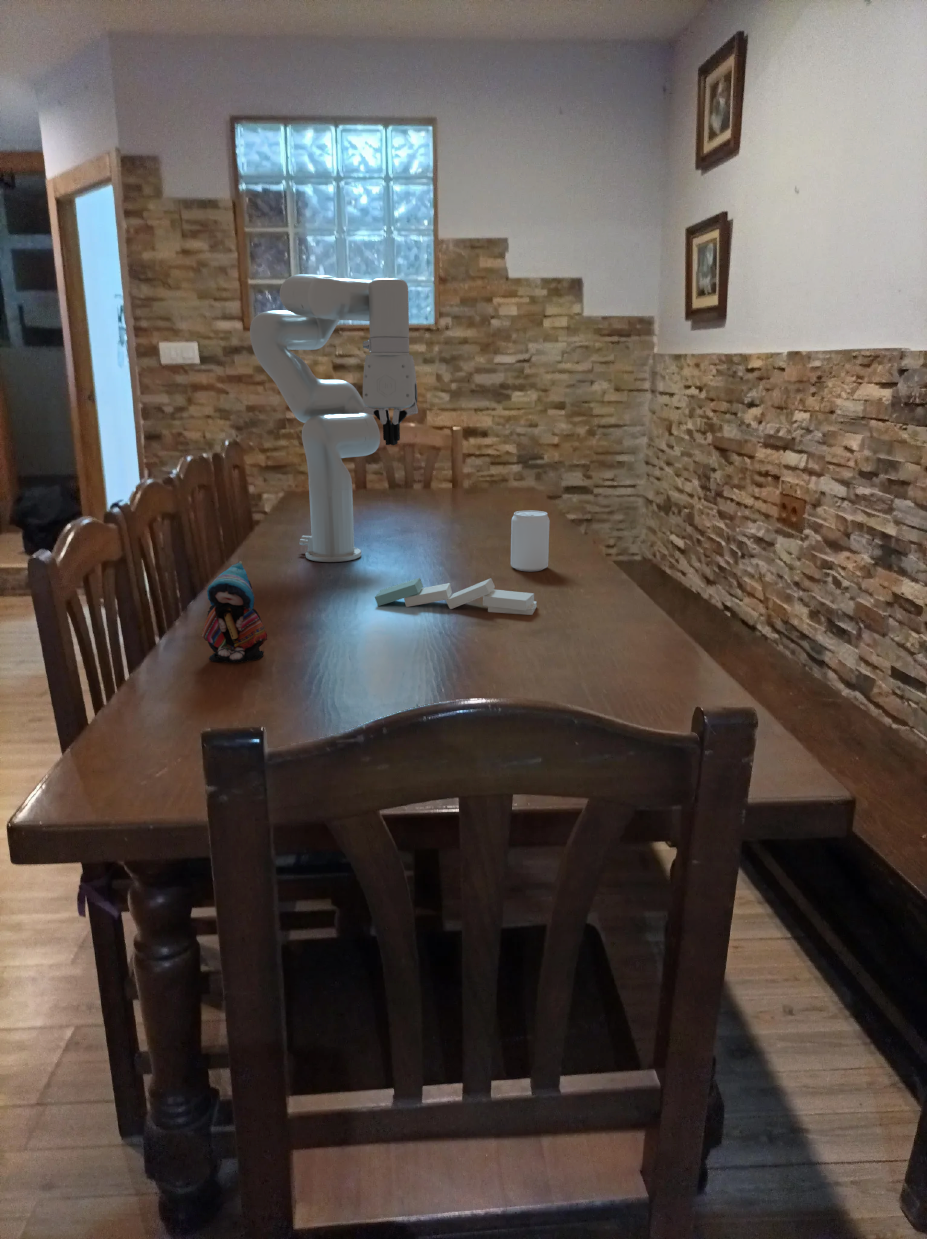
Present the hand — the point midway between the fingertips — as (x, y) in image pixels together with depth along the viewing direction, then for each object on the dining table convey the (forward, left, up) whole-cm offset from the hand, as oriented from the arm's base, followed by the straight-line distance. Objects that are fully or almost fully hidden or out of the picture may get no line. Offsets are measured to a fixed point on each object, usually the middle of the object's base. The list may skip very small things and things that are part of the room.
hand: (391, 444), depth 171 cm
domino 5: (+27, -12, -27) cm, 40 cm away
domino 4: (+27, -12, -25) cm, 39 cm away
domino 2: (+12, -16, -26) cm, 33 cm away
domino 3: (+20, -14, -26) cm, 36 cm away
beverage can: (+22, +20, -27) cm, 40 cm away
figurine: (+5, -55, -27) cm, 62 cm away
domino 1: (+7, -18, -26) cm, 33 cm away
